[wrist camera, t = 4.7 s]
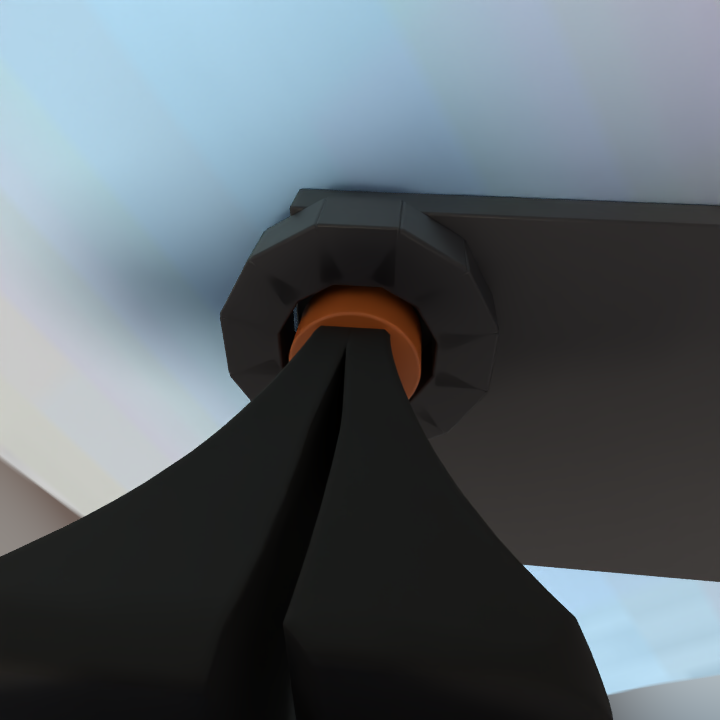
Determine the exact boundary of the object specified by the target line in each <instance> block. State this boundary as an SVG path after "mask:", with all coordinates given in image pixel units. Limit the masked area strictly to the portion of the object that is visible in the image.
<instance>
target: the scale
mask: <svg viewBox="0 0 720 720" xmlns="http://www.w3.org/2000/svg"><path fill="white" fill-rule="evenodd" d="M333 285H346V286H364V287H381V288H383V289H385V290H387V291H388V292H390V293H392V294H394V295H395V296H397V297H399V298H400V299H402V300H404V301H406V302H407V303H409V304H411V305H412V307H413V308H414V310H415V311H416V314H417V316H418V318H419V321H420V324H421V330H422V343H421V376H420V381H419V384H418V386H417V388H416V390H415V392H414V393H413V395H412V396H411V397H410V399H409V402H410V404H411V407H412V409H413V411H414V413H415V415H416V417H417V419H418V421H419V423H420V425H421V427H422V429H423V431H424V433H425V435H426V437H427V438H428V440H429V442H430V444H431V445H432V447H433V449H434V451H435V452H436V454H437V456H438V457H439V459H440V460H441V462H442V463H443V465H444V467H445V468H446V470H447V471H448V473H449V474H450V476H451V477H452V479H453V480H454V481H455V483H456V484H457V486H458V487H459V489H460V490H461V492H462V493H463V494H464V496H465V497H466V498H467V499H468V501H469V502H470V503H471V505H472V506H473V507H474V508H475V510H476V511H477V512H478V513H479V515H480V516H481V517H482V518H483V520H484V521H485V522H486V523H487V525H488V526H489V527H490V528H491V530H492V531H493V532H494V533H495V535H496V536H497V537H498V538H499V539H500V540H501V542H502V543H503V544H504V545H505V546H506V547H507V548H508V549H509V550H510V552H511V553H512V554H513V555H514V556H515V557H516V558H517V559H518V560H519V562H520V563H521V564H522V565H533V566H544V567H555V568H567V569H578V570H589V571H601V572H612V573H623V574H635V575H646V576H657V577H669V578H680V579H691V580H703V581H714V582H720V206H703V205H679V204H655V203H630V202H606V201H582V200H557V199H533V198H508V197H484V196H460V195H435V194H411V193H387V192H362V191H338V190H313V189H300V190H299V192H298V193H297V195H296V197H295V199H294V201H293V203H292V205H291V206H290V217H288V218H286V219H285V220H283V221H281V222H279V223H277V224H275V225H273V226H272V227H270V228H268V229H267V230H266V231H265V232H264V233H263V234H262V236H261V238H260V239H259V241H258V243H257V245H256V246H255V248H254V250H253V251H252V253H251V255H250V257H249V258H248V260H247V262H246V264H245V266H244V268H243V270H242V272H241V274H240V275H239V277H238V279H237V281H236V283H235V285H234V287H233V289H232V291H231V293H230V295H229V297H228V299H227V301H226V303H225V305H224V307H223V309H222V310H221V312H220V321H221V327H222V333H223V339H224V345H225V351H226V357H227V363H228V370H229V373H230V376H231V378H232V379H233V380H234V381H235V382H236V384H237V385H238V386H239V387H240V388H241V390H242V391H243V392H244V393H245V394H246V395H247V397H248V398H249V399H250V400H251V401H252V400H253V399H254V398H255V397H256V396H257V395H258V394H259V393H260V392H261V391H262V390H263V389H264V388H265V387H266V386H267V385H268V384H269V383H270V382H271V381H272V380H273V379H274V378H275V377H276V376H277V375H278V373H279V372H280V371H281V370H282V369H283V368H284V367H285V366H286V365H287V364H288V363H289V353H290V348H291V346H292V343H293V340H294V337H295V334H296V332H295V329H294V315H293V310H294V308H295V307H296V308H297V322H298V325H299V322H300V319H301V317H302V314H303V311H304V309H305V307H306V305H307V304H308V302H309V301H310V300H311V299H312V298H313V297H314V296H315V295H316V294H317V293H318V292H320V291H322V290H324V289H326V288H329V287H331V286H333Z"/></svg>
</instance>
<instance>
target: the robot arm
mask: <svg viewBox="0 0 720 720" xmlns="http://www.w3.org/2000/svg"><path fill="white" fill-rule="evenodd" d="M0 720H613V717H612V711H611V707H610V703H609V699H608V696H607V694H606V691H605V688H604V685H603V682H602V679H601V677H600V674H599V671H598V669H597V666H596V663H595V661H594V658H593V656H592V653H591V651H590V648H589V646H588V644H587V642H586V639H585V637H584V635H583V632H582V630H581V628H580V626H579V624H578V622H577V620H576V618H575V617H574V616H573V615H572V614H571V613H570V612H569V611H568V610H567V609H566V608H565V607H564V606H563V605H562V604H561V603H560V602H559V601H558V600H557V599H556V598H555V597H554V596H553V595H552V594H551V593H550V592H548V591H547V590H546V589H545V588H544V587H543V585H542V584H541V583H540V582H539V581H538V580H537V579H536V578H535V577H534V576H533V575H532V574H531V573H530V572H529V571H528V570H527V569H526V568H525V567H524V566H523V565H522V564H521V563H520V562H519V560H518V559H517V558H516V557H515V556H514V555H513V554H512V553H511V552H510V550H509V549H508V548H507V547H506V546H505V545H504V544H503V543H502V542H501V540H500V539H499V538H498V537H497V536H496V535H495V533H494V532H493V531H492V530H491V528H490V527H489V526H488V525H487V523H486V522H485V521H484V520H483V518H482V517H481V516H480V515H479V513H478V512H477V511H476V510H475V508H474V507H473V506H472V505H471V503H470V502H469V501H468V499H467V498H466V497H465V496H464V494H463V493H462V492H461V490H460V489H459V487H458V486H457V484H456V483H455V481H454V480H453V479H452V477H451V476H450V474H449V473H448V471H447V470H446V468H445V467H444V465H443V463H442V462H441V460H440V459H439V457H438V456H437V454H436V452H435V451H434V449H433V447H432V445H431V444H430V442H429V440H428V438H427V437H426V435H425V433H424V431H423V429H422V427H421V425H420V423H419V421H418V419H417V417H416V415H415V413H414V411H413V409H412V407H411V404H410V402H409V400H408V397H407V395H406V392H405V390H404V388H403V385H402V383H401V380H400V377H399V374H398V372H397V368H396V365H395V362H394V358H393V354H392V349H391V342H390V334H389V333H388V332H387V331H386V330H385V329H373V328H355V327H338V326H320V327H319V328H317V329H316V330H315V331H314V332H313V334H312V335H311V336H310V338H309V339H308V340H307V341H306V343H305V344H304V345H303V346H302V347H301V349H300V350H299V351H298V352H297V353H296V355H295V356H294V357H293V358H292V359H291V360H290V361H289V363H288V364H287V365H286V366H285V367H284V368H283V369H282V370H281V371H280V372H279V373H278V375H277V376H276V377H275V378H274V379H273V380H272V381H271V382H270V383H269V384H268V385H267V386H266V387H265V388H264V389H263V390H262V391H261V392H260V393H259V394H258V395H257V396H256V397H255V398H254V399H253V400H252V401H251V402H250V403H249V404H248V405H247V406H246V407H244V408H243V409H242V410H241V411H240V412H239V413H238V414H237V415H236V416H235V417H234V418H233V419H231V420H230V421H229V422H228V423H227V424H226V425H224V426H223V427H222V428H221V429H220V430H218V431H217V432H216V433H215V434H214V435H212V436H211V437H210V438H208V439H207V440H206V441H205V442H203V443H202V444H201V445H200V446H198V447H197V448H196V449H194V450H193V451H192V452H190V453H189V454H187V455H186V456H184V457H183V458H181V459H180V460H178V461H177V462H175V463H174V464H172V465H171V466H169V467H168V468H166V469H165V470H163V471H162V472H160V473H159V474H157V475H156V476H154V477H153V478H151V479H150V480H148V481H147V482H145V483H143V484H142V485H140V486H138V487H137V488H135V489H133V490H132V491H130V492H128V493H126V494H125V495H123V496H121V497H120V498H118V499H116V500H114V501H113V502H111V503H109V504H107V505H105V506H103V507H101V508H100V509H98V510H96V511H94V512H92V513H90V514H89V515H87V516H85V517H83V518H81V519H79V520H77V521H75V522H73V523H71V524H69V525H67V526H65V527H63V528H61V529H59V530H57V531H54V532H52V533H50V534H48V535H46V536H44V537H42V538H40V539H38V540H35V541H33V542H31V543H29V544H27V545H25V546H23V547H20V548H19V549H16V550H14V551H12V552H10V553H8V554H5V555H3V556H1V557H0Z"/></svg>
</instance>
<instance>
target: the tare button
mask: <svg viewBox="0 0 720 720" xmlns="http://www.w3.org/2000/svg"><path fill="white" fill-rule="evenodd" d="M320 326H338V327H355V328H373V329H385V330H386V331H387V332H388V333H389V334H390V342H391V349H392V354H393V358H394V362H395V365H396V368H397V372H398V374H399V377H400V380H401V383H402V385H403V388H404V390H405V392H406V395H407V397H408V400H409V399H410V397H411V396H412V395H413V393H414V392H415V390H416V388H417V386H418V384H419V381H420V376H421V343H422V330H421V324H420V321H419V318H418V316H417V314H416V311H415V310H414V308H413V307H412V305H411V304H409V303H407V302H406V301H404V300H402V299H400V298H399V297H397V296H395V295H394V294H392V293H390V292H388V291H387V290H385V289H383V288H381V287H364V286H346V285H333V286H331V287H329V288H326V289H324V290H322V291H320V292H318V293H317V294H316V295H315V296H314V297H313V298H312V299H311V300H310V301H309V302H308V304H307V305H306V307H305V309H304V311H303V314H302V317H301V319H300V322H299V325H298V328H297V331H296V334H295V337H294V340H293V343H292V346H291V348H290V353H289V361H290V360H291V359H292V358H293V357H294V356H295V355H296V353H297V352H298V351H299V350H300V349H301V347H302V346H303V345H304V344H305V343H306V341H307V340H308V339H309V338H310V336H311V335H312V334H313V332H314V331H315V330H316V329H317V328H319V327H320Z"/></svg>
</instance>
